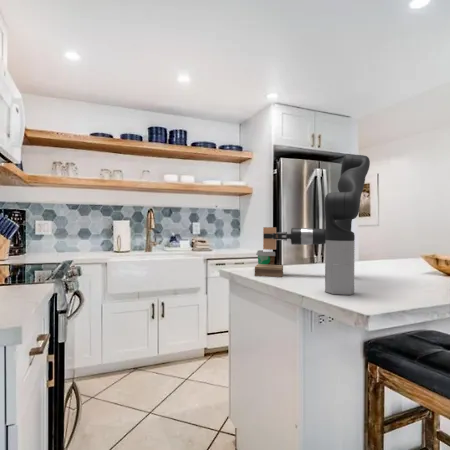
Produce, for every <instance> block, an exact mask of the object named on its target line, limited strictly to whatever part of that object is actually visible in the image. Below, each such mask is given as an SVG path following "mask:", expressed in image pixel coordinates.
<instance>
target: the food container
mask: <svg viewBox="0 0 450 450" xmlns="http://www.w3.org/2000/svg"><path fill="white" fill-rule="evenodd" d="M256 255H257V265H258V264H264V265H275V260H276V259H275V257H276V251H264V249H263V250H257V251H256Z"/></svg>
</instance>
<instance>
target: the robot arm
mask: <svg viewBox="0 0 450 450" xmlns="http://www.w3.org/2000/svg"><path fill="white" fill-rule="evenodd" d="M370 164H371V162H370V158H369V156H367V155H364V154H363V155H362V154H355V153H354V154H352V153H346V154H344V156H343V159H342V162H341V169H340V177H339V179H338V182H337V190H338V191H337V192H328V193H326V195H325V197H324V205H323V206H324V207H323V208H324V222H325V223H324V228H310V227H291V230H290V233H288V232H287V231H282V232H281V231H278V232H277V231H276V233H272V234H264V239H276V241H287V240H290V244H291V245H300V246H301V245H302V246H304V245H325V246H324V247H325V248H324V249H325V250H324V251H325V252H324V254H325V255H324V257H325V259H324V269H325V270H324V292H326V293H329V294H331V295H348V296H351V295H353V294H355V250H356V249H355V246H356V245H355V240H356V239H355V238H356V237H355V235H356V234H355V232H353V231H352V222H353V220H354V219H357V217H358V215H359V213H360V208H361V207H360V206H361V197H362V193H363V191H364V187H365V182H366V176H367V175H368V173H369V169H370Z"/></svg>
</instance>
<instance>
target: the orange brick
mask: <svg viewBox="0 0 450 450" xmlns="http://www.w3.org/2000/svg"><path fill="white" fill-rule="evenodd" d="M262 229H263V231H262V233H263V234H262V235H263V236H262V241H263V243H262V245H263V246H262V249H263V250H269V251H270V250H272V251H273V250H277V239H264V234H272V233H277V227H276V226H275V227H274V226H273V227H271V226H270V227H268V226H265V227H263V228H262Z"/></svg>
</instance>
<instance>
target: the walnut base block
mask: <svg viewBox="0 0 450 450" xmlns="http://www.w3.org/2000/svg"><path fill="white" fill-rule="evenodd" d="M283 275H284V264H274V265H264V264H258V263H257V264H256V265H255V266H254V277H267V278H268V277H269V278H271V277H272V278H276V277H277V278H283Z"/></svg>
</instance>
